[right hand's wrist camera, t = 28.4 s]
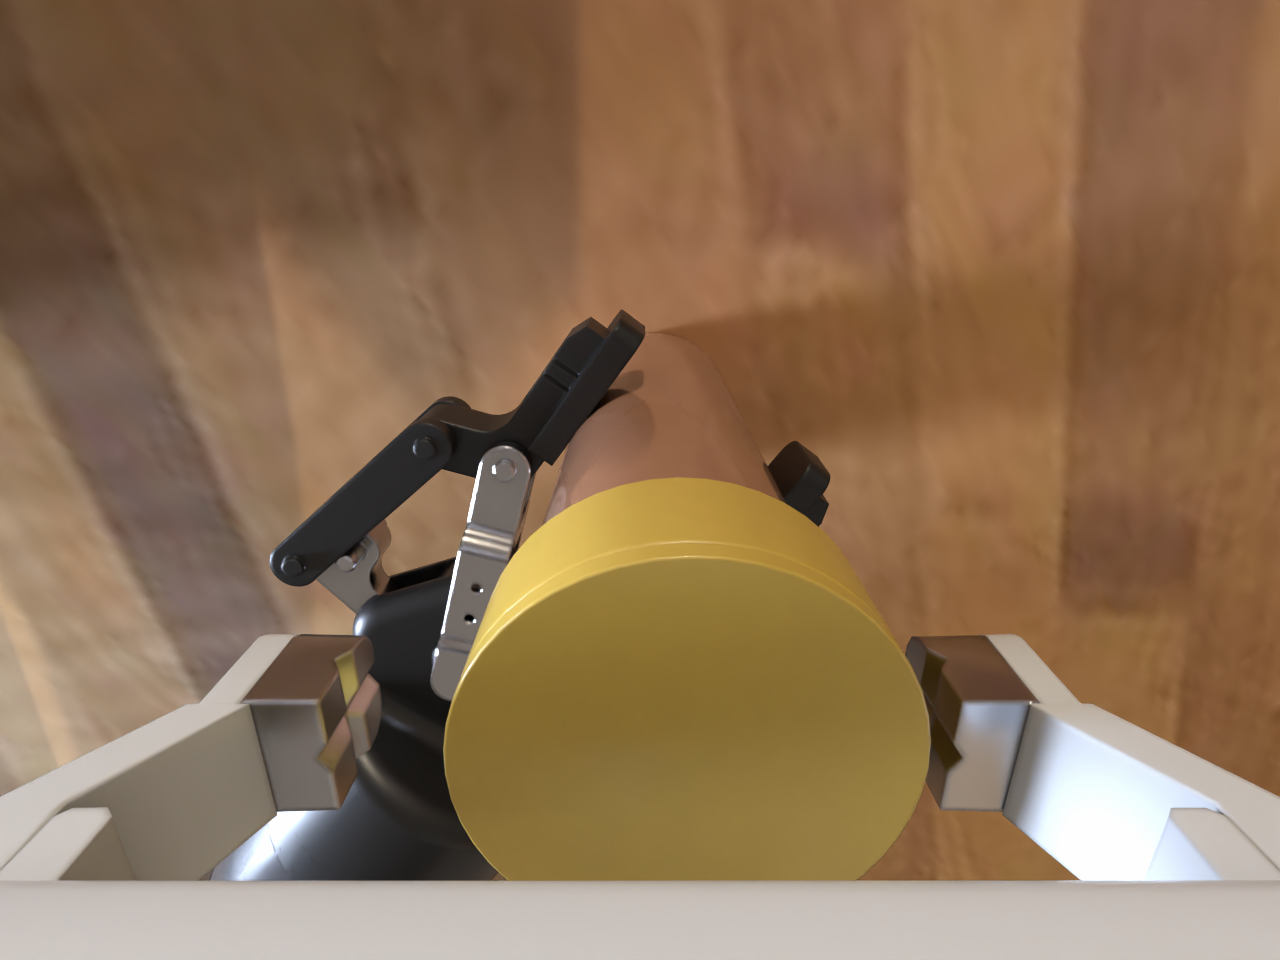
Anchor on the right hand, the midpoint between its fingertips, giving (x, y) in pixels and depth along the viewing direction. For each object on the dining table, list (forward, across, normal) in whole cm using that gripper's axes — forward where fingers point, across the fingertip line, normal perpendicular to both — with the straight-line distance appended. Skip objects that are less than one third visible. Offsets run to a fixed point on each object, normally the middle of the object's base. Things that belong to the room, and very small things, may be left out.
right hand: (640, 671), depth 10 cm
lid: (-2, -1, 0) cm, 2 cm away
